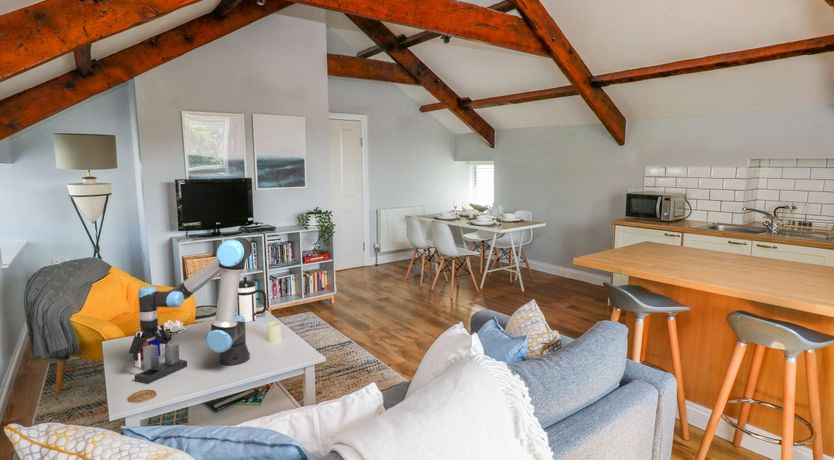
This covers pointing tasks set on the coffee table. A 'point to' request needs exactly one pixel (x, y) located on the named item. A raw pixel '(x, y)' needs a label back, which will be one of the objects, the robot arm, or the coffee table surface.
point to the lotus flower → (174, 326)
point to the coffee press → (248, 300)
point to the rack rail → (159, 372)
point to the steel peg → (150, 356)
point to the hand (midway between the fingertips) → (150, 361)
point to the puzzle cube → (150, 342)
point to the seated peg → (171, 354)
